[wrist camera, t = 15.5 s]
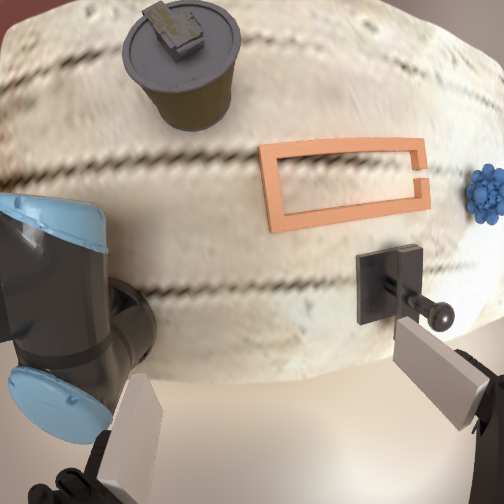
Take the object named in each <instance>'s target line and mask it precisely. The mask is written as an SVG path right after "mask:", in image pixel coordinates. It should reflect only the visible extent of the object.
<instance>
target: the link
mask: <svg viewBox="0 0 504 504" xmlns="http://www.w3.org/2000/svg"><path fill="white" fill-rule="evenodd" d="M257 148H258V155H259V161H260V168H261V175H262V181H263V188H264V195H265V202H266V209H267V216H268V223H269V230H270V232H271V233H277V232H284V231H290V230H296V229H302V228H308V227H314V226H321V225H327V224H333V223H340V222H346V221H353V220H359V219H366V218H373V217H379V216H386V215H393V214H399V213H406V212H413V211H420V210H427V209H431V202H430V187H429V178H418V179H413V180H414V191H415V197H414V198H405V199H397V200H388V201H380V202H372V203H364V204H356V205H349V206H341V207H334V208H327V209H320V210H313V211H306V212H299V213H292V214H286V215H284V208H283V200H282V193H281V186H280V179H279V172H278V165H277V159H281V158H290V157H300V156H311V155H323V154H337V153H354V152H378V151H410V154H411V162H412V170H413V169H428V167H427V158H426V151H425V144H424V139H421V138H343V139H323V140H308V141H296V142H285V143H275V144H266V145H259V146H258V147H257Z"/></svg>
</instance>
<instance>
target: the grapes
mask: <svg viewBox="0 0 504 504" xmlns="http://www.w3.org/2000/svg"><path fill="white" fill-rule="evenodd" d="M471 178H472V182H473V184H470V185H469V186H468V187H467V189H466V195H467V196H468V198H470V199H471V200H470V201H469V202H468V204H467V209H468V211H469V212H470V213H472V214H475V221H476V222H477V223H478V224H483V223H484V222H485V221H486V222H487V223H488V224H489V225H494V224H495V223H497V221H498V219H499V216H498V214H499V215H500V216H503V215H504V170H503V169H501V168H497V169H496V170H494V167H493V165H491V164H485V165H484V166H483V169H482V171H480V170H476V171H474V172H473V174H472V177H471Z"/></svg>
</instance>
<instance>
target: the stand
mask: <svg viewBox="0 0 504 504" xmlns="http://www.w3.org/2000/svg"><path fill="white" fill-rule="evenodd" d="M356 270H357V323H358V324H359V325H363V324H367V323H370V322H373V321H377V320H380V319H383V318H386V317H390V316H393V315H395V326H394V338H393V339H394V340H395V336H396V323H397V320H398V319H401V318H404V317H407V316H408V317H410V318H411V319H412V320H414V321H415V322H416V323H418V324H419V315H420V314H421V315H423V316H424V317H426V318H427V320H428V324H429V326H430V327H431V329H433V330H434V331H436V332H444V331H446V330H448V329H449V328H450V327H451V326H452V324H453V322H454V318H455V314H454V310H453V308H452V307H451V305H449V304H448V303H446V302H439V303H434V302H433V301H431V300H429V299H428V298H426V297H424V296H423V295H421V291H422V272H423V248H422V247H419V246H418V245H416V244H409V245H405V246H400V247H395V248H391V249H386V250H381V251H376V252H371V253H366V254H362V255H357V256H356Z"/></svg>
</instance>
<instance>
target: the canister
mask: <svg viewBox="0 0 504 504" xmlns="http://www.w3.org/2000/svg"><path fill="white" fill-rule="evenodd" d="M142 14H143V17H141V18H140V19H139V20H138V21H137V22H136V23H135V24H134V25H133V27H132V28H131V30H130V31H129V33H128V35H127V37H126V39H125V41H124V43H123V51H122V58H123V63H124V66H125V69H126V71H127V73H128V75H129V76H130V77H131V78H132V79H133V80H134V81H135V82H136V83H138V84H139V85H140V86H141V87H142V89H143V90H144V91H145V92H146V94H147V95H148V96H149V98H150V99H151V100H152V101H153V103H154V104H155V105H156V106H157V108H158V109H159V112H160V114H161V116H162V117H163V119H164V120H165V121H166V122H167V123H168V124H169V125H171V126H172V127H174V128H177V129H180V130H184V131H198V130H203V129H206V128H208V127H210V126H212V125H214V124H215V123H217V122H218V121H219V120H220V119H222V117H223V116H224V115H225V113H226V112H227V110H228V108H229V105H230V101H231V91H230V90H231V84H232V77H233V71H234V65H235V60H236V58H237V55H238V53H239V50H240V46H241V35H240V29H239V27H238V25H237V23H236V21H235V19H234V18H233V17H232V16H231V15H230V14H229V13H228V12H227V11H226V10H225V9H223V8H221V7H219V6H217V5H215V4H213V3H209V2H205V1H201V0H180V1H175V2H170V3H167V4H164V3H163V2H162V1H159V2H157V3H155V4H153V5H152V6H150V7H148V8H146V9H144V10H143V11H142Z"/></svg>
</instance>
